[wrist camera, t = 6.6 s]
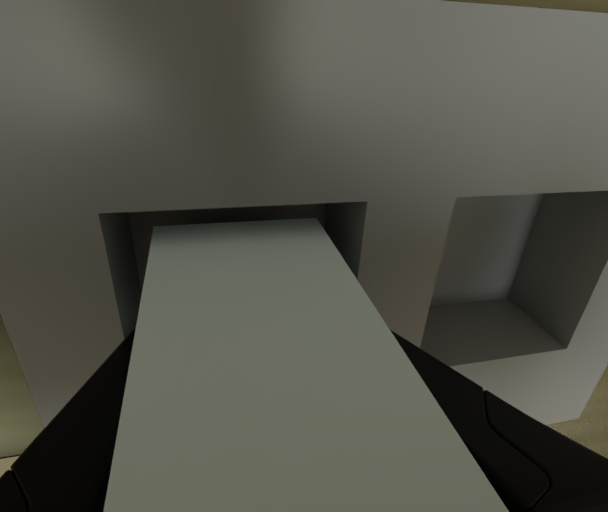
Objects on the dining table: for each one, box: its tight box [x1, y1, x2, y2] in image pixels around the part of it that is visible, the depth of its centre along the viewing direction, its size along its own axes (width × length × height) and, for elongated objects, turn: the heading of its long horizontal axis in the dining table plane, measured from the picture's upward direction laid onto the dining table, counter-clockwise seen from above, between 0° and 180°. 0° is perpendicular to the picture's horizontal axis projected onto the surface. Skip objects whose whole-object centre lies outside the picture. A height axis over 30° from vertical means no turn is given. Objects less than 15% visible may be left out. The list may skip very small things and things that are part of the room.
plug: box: [103, 218, 509, 512], centre depth 6 cm, size 4×4×8 cm
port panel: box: [0, 0, 608, 428], centre depth 11 cm, size 12×16×4 cm
